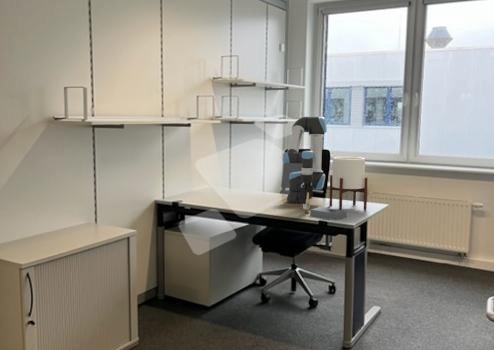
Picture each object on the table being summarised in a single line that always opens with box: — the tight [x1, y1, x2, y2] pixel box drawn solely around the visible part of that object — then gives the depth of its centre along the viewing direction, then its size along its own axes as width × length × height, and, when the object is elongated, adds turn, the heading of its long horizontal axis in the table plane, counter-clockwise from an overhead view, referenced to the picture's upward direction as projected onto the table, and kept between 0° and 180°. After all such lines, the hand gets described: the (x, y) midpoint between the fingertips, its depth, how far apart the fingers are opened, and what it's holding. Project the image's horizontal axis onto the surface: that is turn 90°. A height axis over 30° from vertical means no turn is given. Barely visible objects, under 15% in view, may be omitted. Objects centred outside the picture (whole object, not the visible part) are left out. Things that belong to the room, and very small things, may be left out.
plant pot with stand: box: [329, 156, 368, 211], centre depth 346 cm, size 22×22×36 cm
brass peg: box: [303, 192, 310, 214], centre depth 329 cm, size 3×3×14 cm
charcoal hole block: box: [309, 206, 348, 220], centre depth 318 cm, size 20×12×4 cm, turn 50°
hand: (306, 208), depth 329 cm, fingers closed on brass peg, 3 cm apart
